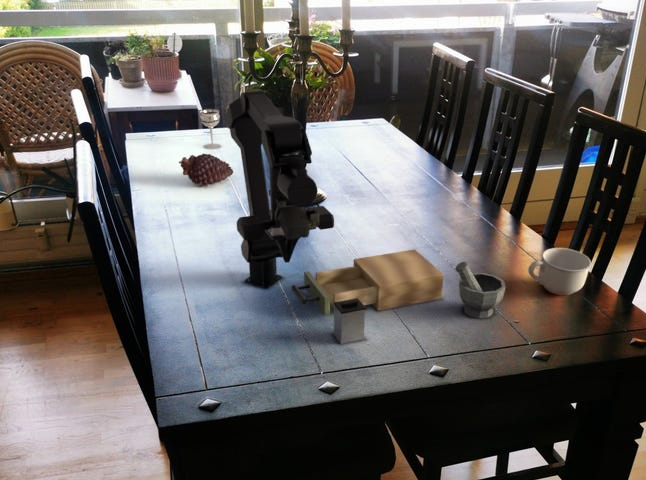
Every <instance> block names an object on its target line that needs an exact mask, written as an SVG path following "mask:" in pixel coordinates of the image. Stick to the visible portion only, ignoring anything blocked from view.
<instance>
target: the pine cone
mask: <svg viewBox="0 0 646 480" xmlns="http://www.w3.org/2000/svg"><path fill="white" fill-rule="evenodd" d="M178 164H180V165H179V166H180V167H181V168H182V175H183V176H187V178H188V179H189V180H190V181H191V182H192V183H193V184H194V185H196V186H199V187H203V186H204V187H208V186H209V185H211V186H212V185H213V184H216V183H221V182H222V181H225V180H227V179H228V178H230V177H231V176H233V174H234V169H233V168H232V167H231V166H230V163H228V162H226V161H224V160H221V159H220V158H218V157H217V156H214V155H212V154H210V153H208V154H207V153H202V154H198V155H197V156H195V154H191V155H189V157H188V158H187V156H183V157H182V159H181V160H179V161H178Z"/></svg>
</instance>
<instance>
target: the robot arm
mask: <svg viewBox="0 0 646 480" xmlns="http://www.w3.org/2000/svg"><path fill="white" fill-rule="evenodd" d="M225 123H226V127H227V129H228V130H229V132H230V137H231V139H232V140H233V141H234V143H235V144H236V145H237V146H238V148H239V150H240V155H241V163H242V169H243V176H244V183H245V190H246V197H247V204H248V210H249V215H247V216H240V217H239V218H238V219H237V221H236V231H237V232H238V234H239V235H240V236H241V238H242V239H243V240H242V242H241V244H240V251H241V255H242V257H243V258H244V261H246V263H248V268H249V276H248V277H246V278H245V279H244V283H246V284H250V285H253V286H257V287H260V288H263V289H269V288H270V287H272V286H273V285H274V284H276V283H277V282H279V281H280V280H281V279H283V275H281V274H277V273H278V272H277V258H282V259H283V261H284V263H286V264H287V263H290V261H291V259H292V257H293V253H294V250H295V248H296V246H297V244H298V241H299V240H300V239H302V238H303V239H305V238H308V237H309V236H310V231H312V230H317V228H318V229H319V230H321V231H322V230H328V229H333V228H334V227H335V217H334V214H333V213H331V212H330V211H329V209H327V208H326V207H325V206H324V205H318V206H317V205H316V206H310V207H309V205H311V204H312V203H313V202H314V201H315V200H316V198H317V195H318V186H317V183H316V181H315V180H314V179H313V178H312V177H310V175H309V174H308V170H307V168H306V167H305V165H308V164H312V162H313V161H312V155H313V152H312V148H311V145H310V141H309V138H308V134H307V132H306V130H305V128H304V126H302V124H301V123H300V121H298V120H297V119H295V118H294V117H291V116H285V115H283V114H282V113H281V112H280V110H278V108H277V106H275V105H274V103H273V102H272V101H271V100H270V99H269V95H268V93H267V91H266V90H262V89H257V90H246V91H244V92H241V93H240V96H239V97H238V98H237V99H235V100H234V101H232V102H231V103H229V104H228V106H227V109H226V111H225ZM263 151H264V154H265V157H266V160H267V162H268V163H267V164H268V166H269V167H268V168H269V169H268V170H269V189H268V185H267V179H266V178H267V177H266V170H265V164H264V157H263ZM298 153H299V154H298ZM290 154H291V155H290ZM269 199H270V200H269ZM307 206H308V207H307ZM305 207H307V208H305Z"/></svg>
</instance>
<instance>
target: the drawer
mask: <svg viewBox="0 0 646 480" xmlns="http://www.w3.org/2000/svg"><path fill="white" fill-rule="evenodd" d="M290 289H291V291H292V293H293V294H294V295H295V296H296V298H297V299H298V301H299V302H300V303H301V305H302V306H306V305H307V304H308V303H311V302H314V304H315V305H316V307H317V308H318V309H319V310H320V312H321V313H322V314H323V316H330V315H331V308H332V309H333V310H334V302H339V301H344V300H350V299H355V298H358V299H359V300H360V302H361V303H362V304H363V305H364V306H368V305H373V304H374V303H377V293H378V287H377V286H376V285H375V284H374V283H373V282H372V281H371V280H370V279H369V278H368V277H367V276H366V275H365V274H364V273H363V272H362V270H361V269H360V268H359V267H358V266H353V265H352V266H348V267H347V266H346V267H341V268H336V269H329V270H324V271H323V270H322V271H317V272H315V276H314V275H313V274H312V273H311V272H310V271H304V272H303V285H296V284H292V285H291V287H290ZM301 290H304V291H305V292H306V294H307V295H308V296H309V297H308V298H307V297H306V296H305V295H304V293H303V292H302V291H301Z"/></svg>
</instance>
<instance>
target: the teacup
mask: <svg viewBox="0 0 646 480" xmlns="http://www.w3.org/2000/svg"><path fill="white" fill-rule="evenodd" d="M591 265H592V262H591V259H590V258H589V256H587V255H586V254H584V253H582V252H580V251H579V250H575V249H571V248H566V247H551V248H548V249H546V250H544V251H543V252H542V253H541V260H534V261H533V262H531V263H530V265H529V266H528V270H527V271H528V274H529V276H530V277H531V278H532V279H533V280H535V281H537V283H538V284H539V285H541V286H543V287H544V289H546V290H547V291H548V292H549V293H551V294H555V295H558V296H569V295H571V294H574V293H577V292H579V291H580V290H581V289H582V288H583V287H584V285H585V283H586V281H587V278H588V274H589V270H590V267H591ZM537 267H539V271H538V275H537V274H535V272H534V271H535V269H536V268H537Z"/></svg>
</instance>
